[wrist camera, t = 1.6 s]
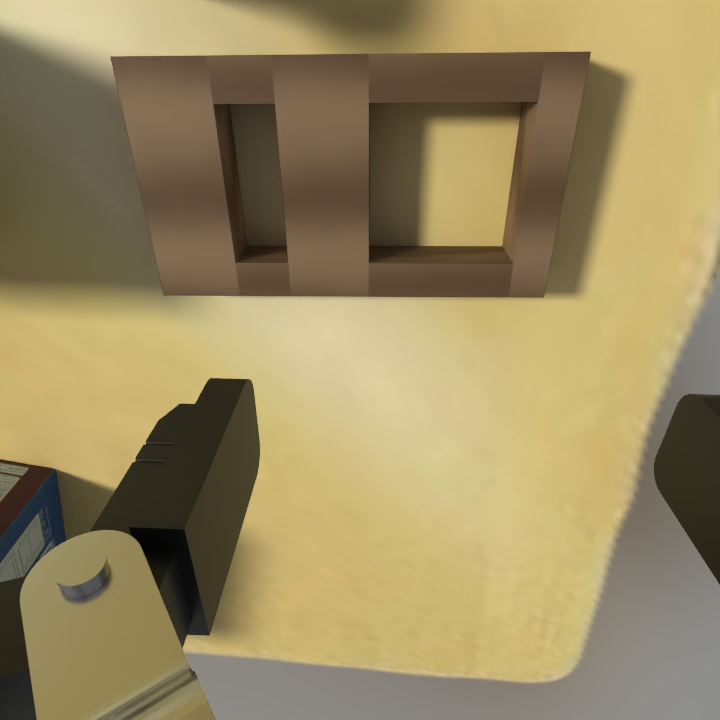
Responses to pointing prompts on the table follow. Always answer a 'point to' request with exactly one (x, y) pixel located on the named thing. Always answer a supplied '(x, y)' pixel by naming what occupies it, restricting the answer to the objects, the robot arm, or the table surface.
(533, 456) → the table surface
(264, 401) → the table surface
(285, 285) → the brown slatted wooden frame
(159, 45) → the table surface
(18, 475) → the protein box
